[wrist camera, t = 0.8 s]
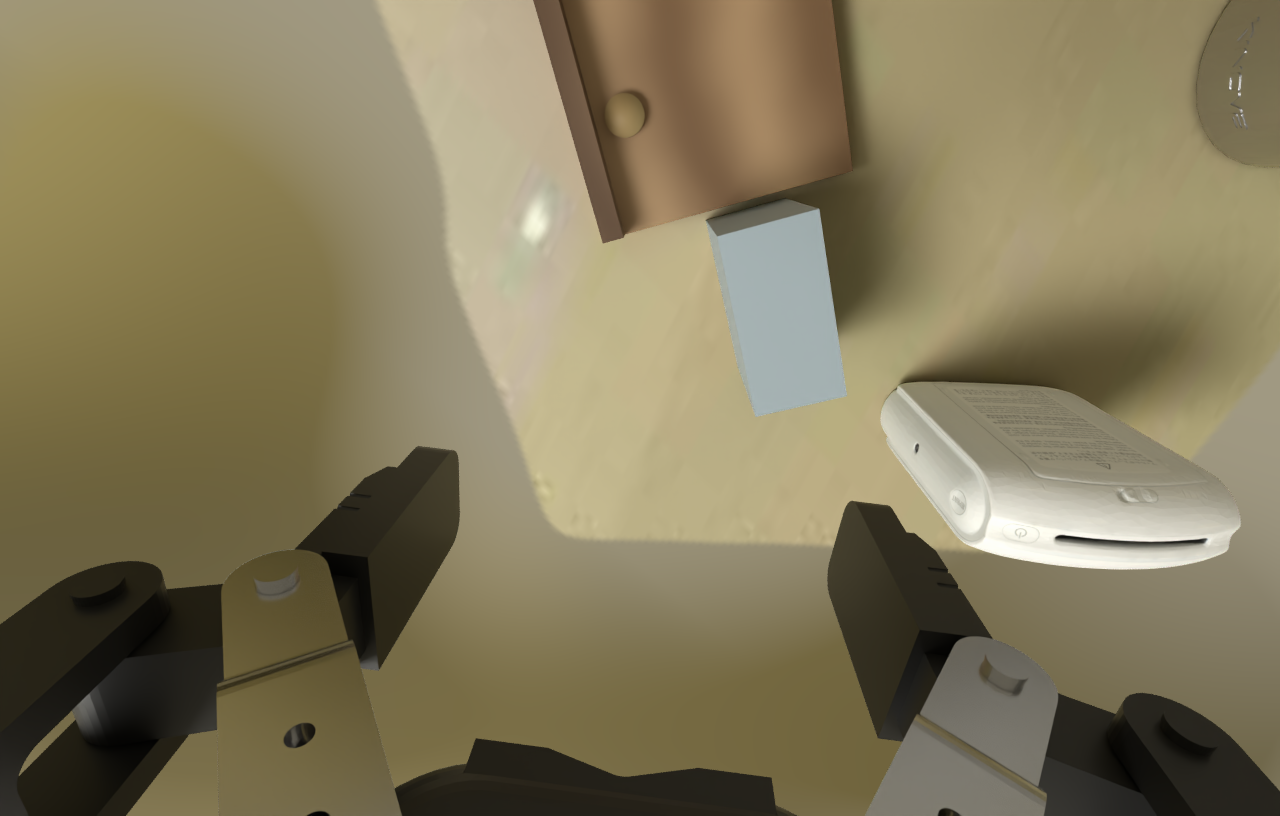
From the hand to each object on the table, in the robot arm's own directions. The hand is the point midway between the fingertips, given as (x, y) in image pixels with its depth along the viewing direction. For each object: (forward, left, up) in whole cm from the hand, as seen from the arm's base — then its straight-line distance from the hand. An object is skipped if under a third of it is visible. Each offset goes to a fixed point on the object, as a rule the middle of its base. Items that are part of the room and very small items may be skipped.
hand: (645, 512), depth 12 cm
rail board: (-4, -12, -21) cm, 24 cm away
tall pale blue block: (-5, +1, -21) cm, 21 cm away
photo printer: (-15, +11, -21) cm, 28 cm away
